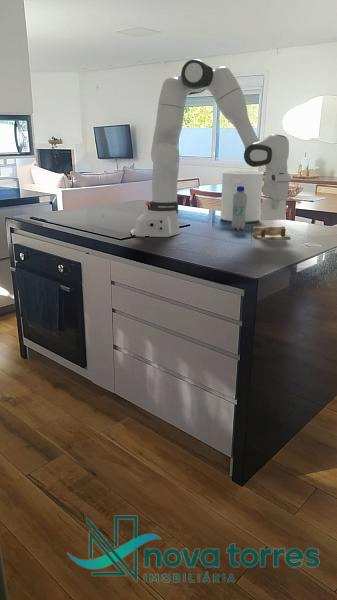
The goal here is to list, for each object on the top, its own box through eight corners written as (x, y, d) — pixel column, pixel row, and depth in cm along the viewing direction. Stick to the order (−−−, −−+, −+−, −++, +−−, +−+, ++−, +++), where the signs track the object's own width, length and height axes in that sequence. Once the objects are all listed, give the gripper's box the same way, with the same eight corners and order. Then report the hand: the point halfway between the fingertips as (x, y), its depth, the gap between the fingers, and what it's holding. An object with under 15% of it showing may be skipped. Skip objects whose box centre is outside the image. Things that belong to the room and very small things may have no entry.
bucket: (232, 215, 251) (235, 169, 243) (268, 219, 239) (272, 171, 231) (209, 221, 231) (211, 172, 223) (247, 226, 220) (250, 174, 211)
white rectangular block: (262, 220, 191) (263, 198, 188) (260, 219, 193) (262, 198, 190) (284, 219, 192) (286, 198, 189) (282, 218, 195) (284, 197, 192)
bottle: (245, 230, 208) (247, 186, 201) (230, 230, 209) (232, 186, 203) (245, 228, 214) (248, 185, 208) (231, 227, 216) (233, 185, 209)
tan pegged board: (258, 239, 190) (259, 230, 188) (251, 235, 199) (252, 226, 198) (290, 239, 192) (291, 229, 190) (281, 234, 201) (282, 225, 200)
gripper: (260, 173, 196) (258, 205, 201) (277, 177, 177) (274, 212, 181) (274, 173, 197) (271, 205, 201) (292, 177, 178) (289, 212, 182)
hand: (273, 208), depth 191 cm, fingers closed on white rectangular block, 2 cm apart
